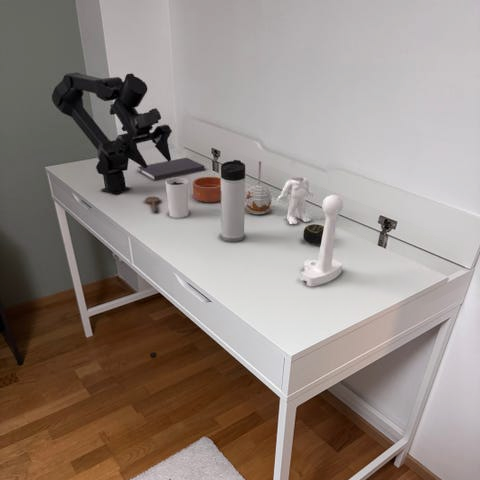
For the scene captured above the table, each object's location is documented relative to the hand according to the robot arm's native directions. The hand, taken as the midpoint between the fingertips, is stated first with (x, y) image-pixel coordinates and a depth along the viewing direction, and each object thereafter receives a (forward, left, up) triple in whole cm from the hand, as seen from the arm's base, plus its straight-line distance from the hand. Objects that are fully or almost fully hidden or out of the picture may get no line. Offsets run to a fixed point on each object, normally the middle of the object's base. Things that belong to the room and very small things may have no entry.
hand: (158, 163), depth 136 cm
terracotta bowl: (+8, +15, -13) cm, 22 cm away
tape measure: (+50, +4, -14) cm, 52 cm away
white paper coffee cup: (+7, -1, -14) cm, 16 cm away
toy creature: (+39, +14, -14) cm, 44 cm away
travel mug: (+29, -6, -14) cm, 33 cm away
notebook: (-20, +31, -14) cm, 39 cm away
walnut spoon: (-3, 0, -13) cm, 14 cm away
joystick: (+57, -13, -14) cm, 60 cm away
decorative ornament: (+26, +14, -14) cm, 33 cm away
